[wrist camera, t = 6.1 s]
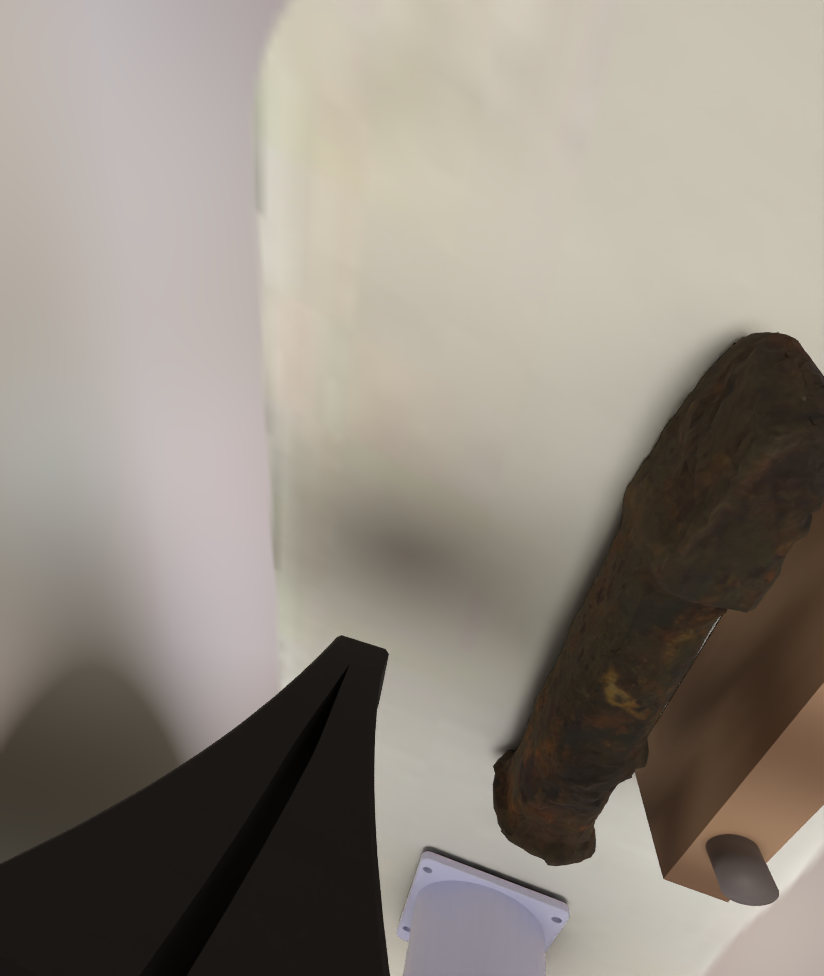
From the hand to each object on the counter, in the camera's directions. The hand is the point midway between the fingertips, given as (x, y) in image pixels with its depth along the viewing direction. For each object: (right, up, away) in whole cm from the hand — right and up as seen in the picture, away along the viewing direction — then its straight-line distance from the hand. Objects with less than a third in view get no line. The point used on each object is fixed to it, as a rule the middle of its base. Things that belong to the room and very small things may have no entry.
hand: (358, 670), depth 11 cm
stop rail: (+13, -1, +3) cm, 13 cm away
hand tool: (+8, +1, +5) cm, 9 cm away
